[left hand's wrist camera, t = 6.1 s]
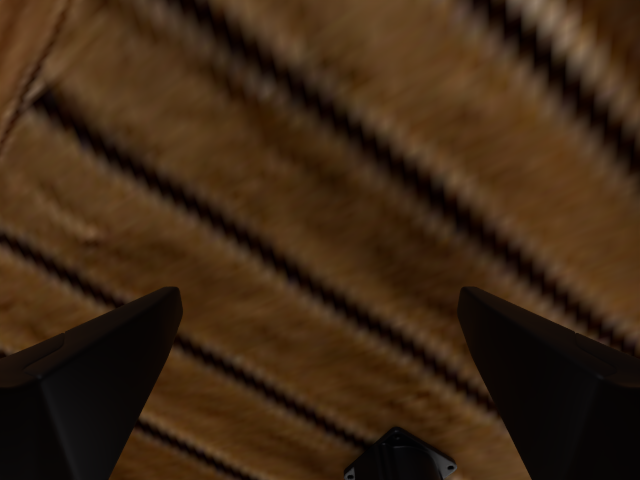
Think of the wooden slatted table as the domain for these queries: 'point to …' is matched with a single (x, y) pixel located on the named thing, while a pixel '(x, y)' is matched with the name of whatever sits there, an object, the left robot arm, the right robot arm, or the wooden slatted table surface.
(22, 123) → the wooden slatted table surface
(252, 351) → the wooden slatted table surface
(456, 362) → the wooden slatted table surface
